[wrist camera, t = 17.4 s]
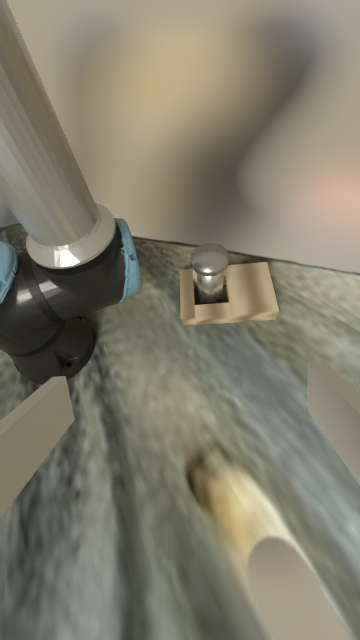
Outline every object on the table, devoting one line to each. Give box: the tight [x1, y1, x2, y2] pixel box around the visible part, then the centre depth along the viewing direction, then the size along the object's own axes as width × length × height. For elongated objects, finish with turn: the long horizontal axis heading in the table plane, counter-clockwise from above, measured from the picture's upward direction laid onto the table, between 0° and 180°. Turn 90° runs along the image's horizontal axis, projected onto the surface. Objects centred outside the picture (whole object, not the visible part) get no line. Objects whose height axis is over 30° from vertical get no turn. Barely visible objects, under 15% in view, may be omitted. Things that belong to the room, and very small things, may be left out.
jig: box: [180, 262, 279, 326], centre depth 55 cm, size 18×12×3 cm, turn 91°
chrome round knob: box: [191, 243, 229, 305], centre depth 51 cm, size 6×6×12 cm
